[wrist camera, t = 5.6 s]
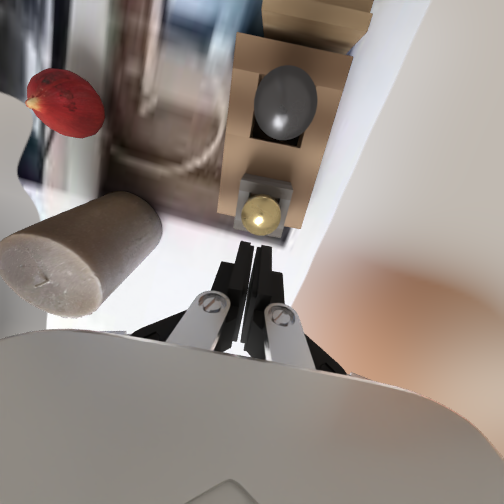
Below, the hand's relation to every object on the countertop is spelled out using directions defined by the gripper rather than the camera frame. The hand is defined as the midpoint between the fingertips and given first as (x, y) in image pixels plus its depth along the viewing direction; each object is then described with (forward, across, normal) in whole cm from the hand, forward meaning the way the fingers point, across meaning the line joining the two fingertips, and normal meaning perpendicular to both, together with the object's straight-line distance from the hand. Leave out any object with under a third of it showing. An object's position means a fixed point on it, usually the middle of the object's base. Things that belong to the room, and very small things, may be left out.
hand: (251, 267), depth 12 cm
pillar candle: (+19, +18, +9) cm, 28 cm away
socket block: (+19, 0, -5) cm, 20 cm away
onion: (+19, +21, -5) cm, 29 cm away
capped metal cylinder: (+19, 0, -8) cm, 21 cm away
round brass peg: (+14, 0, +1) cm, 14 cm away
